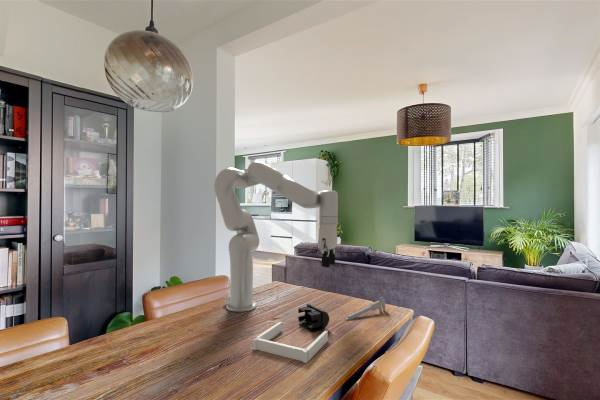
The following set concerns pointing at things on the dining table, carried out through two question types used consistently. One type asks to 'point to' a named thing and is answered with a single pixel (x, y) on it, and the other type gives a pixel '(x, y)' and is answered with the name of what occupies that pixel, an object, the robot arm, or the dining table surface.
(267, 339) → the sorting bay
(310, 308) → the end cap
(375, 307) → the caliper
